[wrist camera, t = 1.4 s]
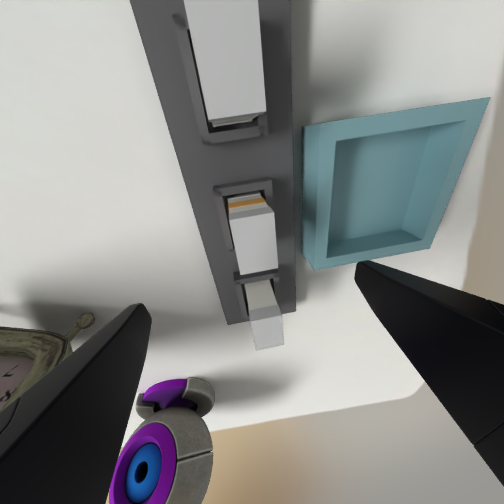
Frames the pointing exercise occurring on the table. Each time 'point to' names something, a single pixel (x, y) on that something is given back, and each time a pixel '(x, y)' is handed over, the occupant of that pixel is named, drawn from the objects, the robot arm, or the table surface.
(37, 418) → the robot arm
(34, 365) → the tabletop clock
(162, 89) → the fuse holder
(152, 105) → the table surface
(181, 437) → the webcam
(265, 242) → the marked fuse
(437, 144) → the tray
